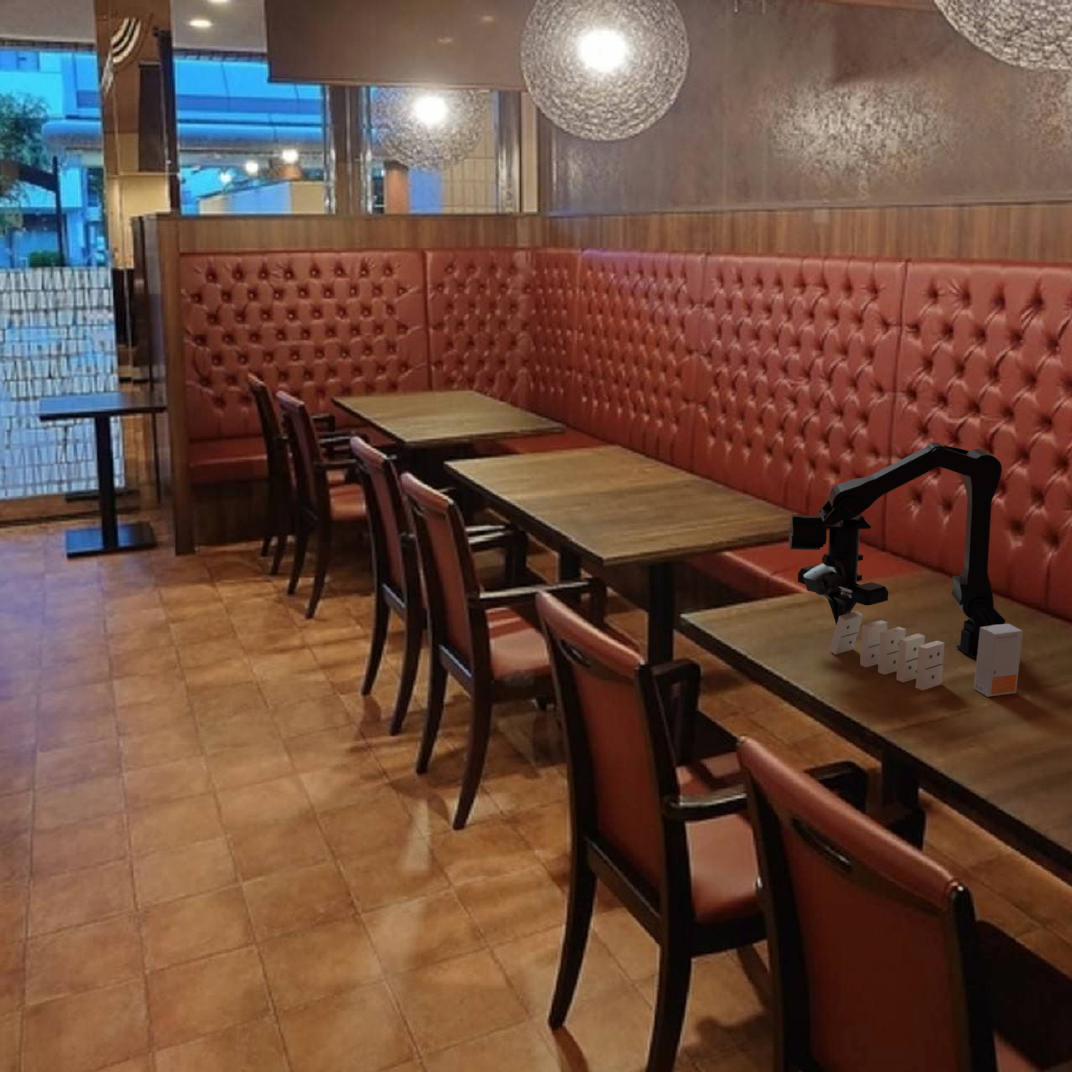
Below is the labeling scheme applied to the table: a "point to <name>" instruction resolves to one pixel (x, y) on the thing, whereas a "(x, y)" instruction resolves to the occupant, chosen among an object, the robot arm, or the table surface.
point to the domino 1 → (846, 632)
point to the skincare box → (998, 659)
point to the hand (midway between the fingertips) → (839, 625)
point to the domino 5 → (930, 665)
